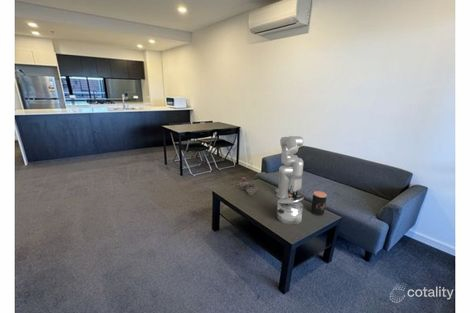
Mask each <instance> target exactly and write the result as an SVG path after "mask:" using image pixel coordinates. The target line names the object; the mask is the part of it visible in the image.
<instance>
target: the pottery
mask: <svg viewBox="0 0 470 313" xmlns="http://www.w3.org/2000/svg"><path fill="white" fill-rule="evenodd" d="M238 184H239V187H240V189H241V190H246V192H247V194H248V195H249V196H254V195H255V194H256V192H257V191H258V187H256V184H255V182H253V183H252V182H250V183H249V181H247V177H245V176H244V177H243V176H242V177H241V180H240V181H239V183H238Z"/></svg>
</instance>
